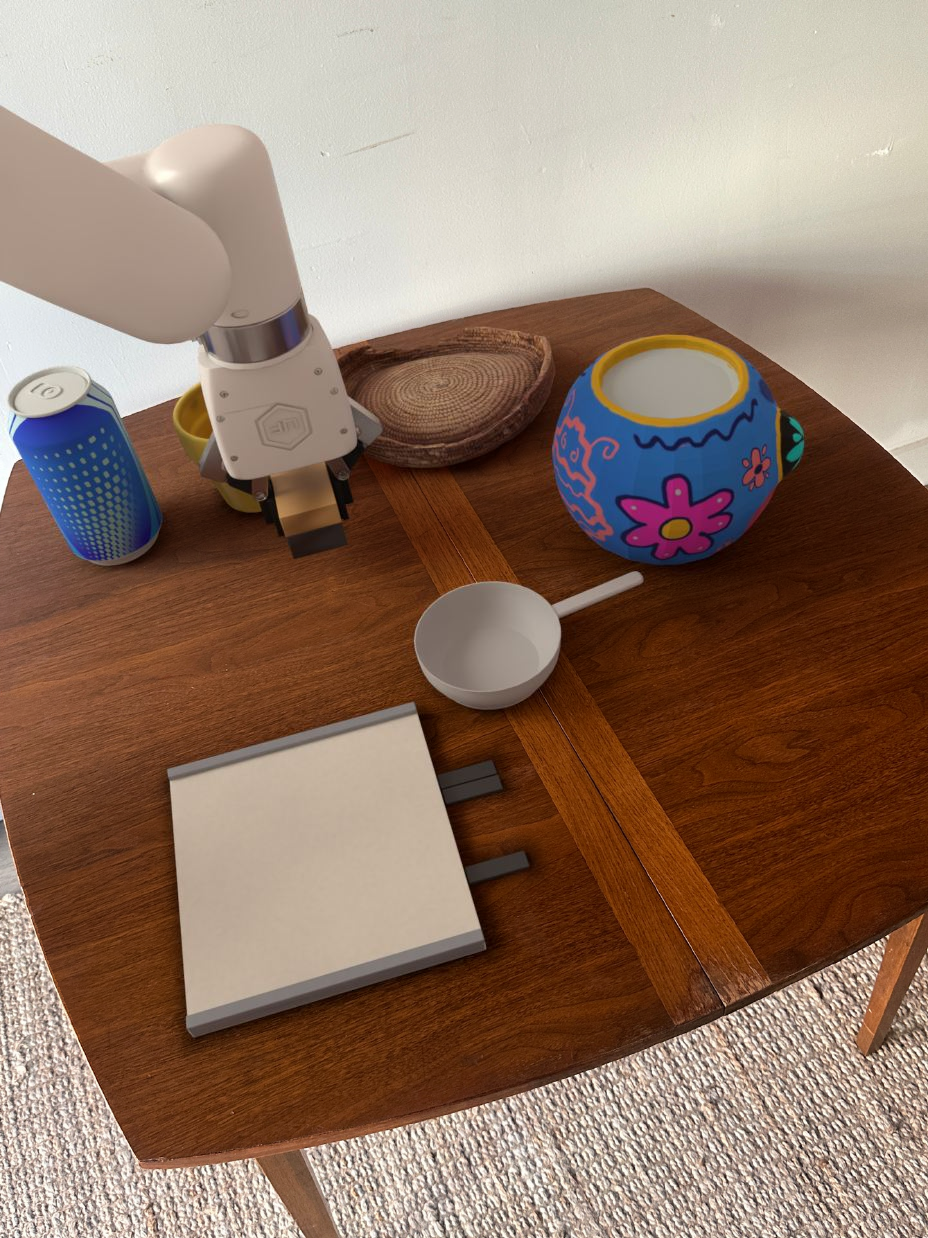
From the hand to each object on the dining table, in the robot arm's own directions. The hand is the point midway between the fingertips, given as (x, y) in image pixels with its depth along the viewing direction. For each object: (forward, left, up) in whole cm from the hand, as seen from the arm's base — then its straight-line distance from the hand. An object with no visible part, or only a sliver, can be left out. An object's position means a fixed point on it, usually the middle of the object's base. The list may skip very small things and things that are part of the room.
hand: (311, 515), depth 84 cm
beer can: (-17, +9, -5) cm, 20 cm away
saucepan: (+14, -16, -5) cm, 22 cm away
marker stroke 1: (+6, -26, -5) cm, 27 cm away
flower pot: (-4, +11, -5) cm, 13 cm away
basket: (+15, +16, -5) cm, 22 cm away
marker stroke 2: (+6, -27, -5) cm, 28 cm away
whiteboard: (-5, -29, -5) cm, 29 cm away
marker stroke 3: (+6, -33, -5) cm, 34 cm away
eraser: (0, 0, -1) cm, 1 cm away
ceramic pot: (+28, -7, -5) cm, 29 cm away
